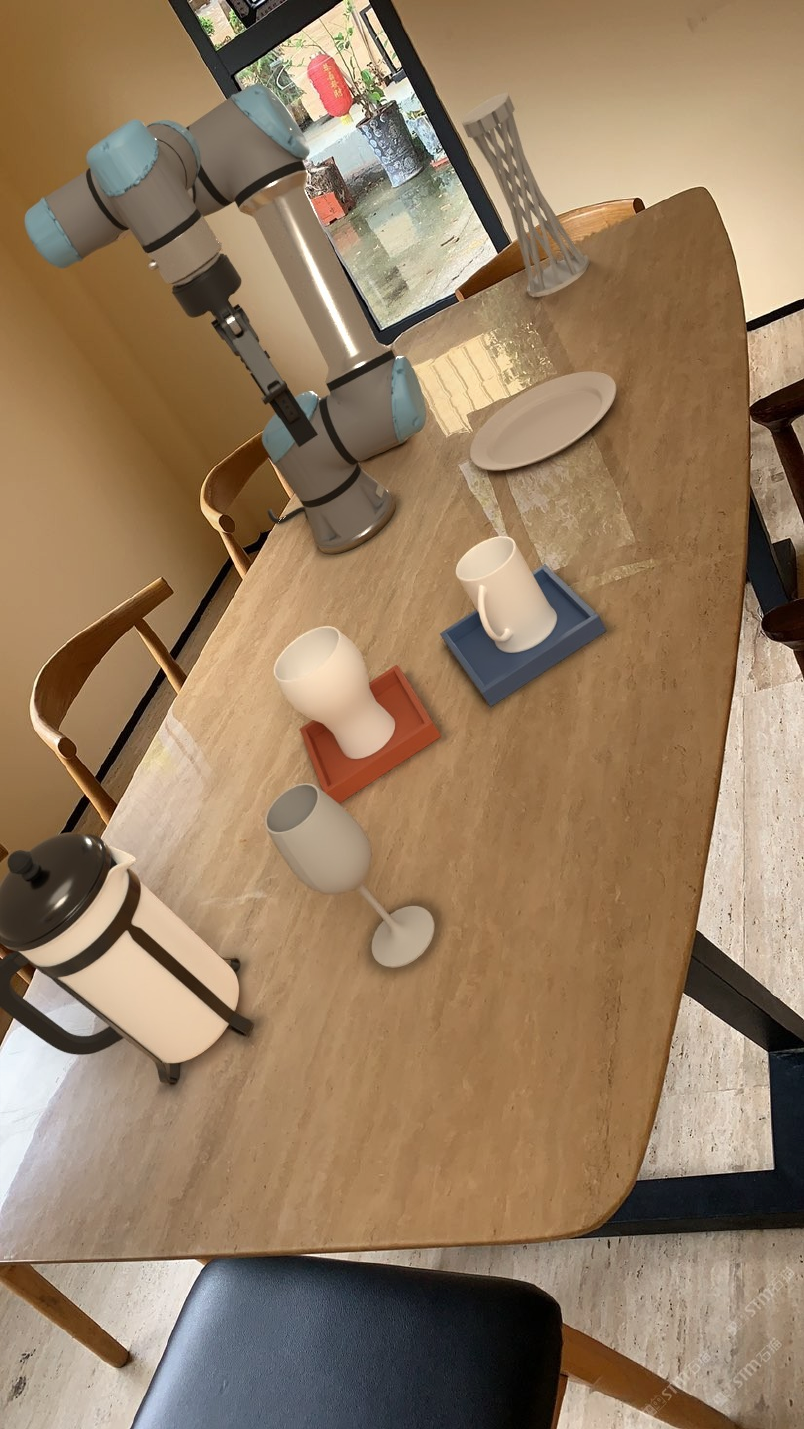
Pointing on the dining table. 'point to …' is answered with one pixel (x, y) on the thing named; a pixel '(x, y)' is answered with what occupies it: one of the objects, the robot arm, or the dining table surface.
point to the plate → (543, 421)
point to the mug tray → (513, 670)
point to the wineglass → (342, 866)
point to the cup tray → (408, 738)
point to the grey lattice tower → (524, 197)
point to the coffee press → (112, 954)
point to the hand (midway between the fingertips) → (297, 425)
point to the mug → (506, 595)
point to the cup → (334, 690)
